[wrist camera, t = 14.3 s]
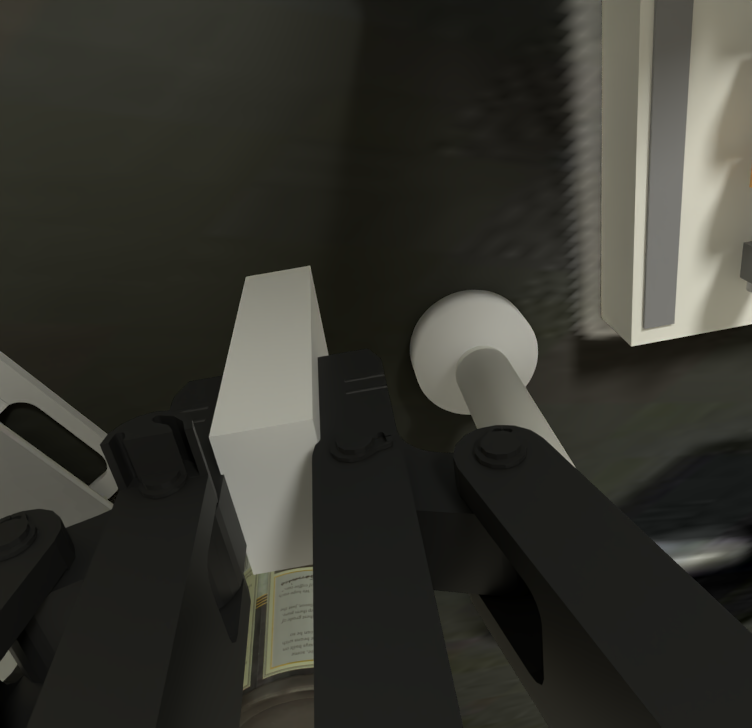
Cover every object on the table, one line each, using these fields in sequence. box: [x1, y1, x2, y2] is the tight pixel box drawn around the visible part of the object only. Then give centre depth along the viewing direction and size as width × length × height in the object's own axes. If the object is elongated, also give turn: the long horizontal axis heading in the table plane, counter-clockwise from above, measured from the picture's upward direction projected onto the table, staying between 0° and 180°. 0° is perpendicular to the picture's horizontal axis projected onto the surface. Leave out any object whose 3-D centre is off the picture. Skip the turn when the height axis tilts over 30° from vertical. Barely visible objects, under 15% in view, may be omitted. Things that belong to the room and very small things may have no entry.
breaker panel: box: [601, 0, 752, 347], centre depth 32 cm, size 22×12×4 cm, turn 9°
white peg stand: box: [410, 290, 575, 467], centre depth 27 cm, size 7×7×26 cm
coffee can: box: [239, 553, 314, 728], centre depth 38 cm, size 10×10×14 cm
